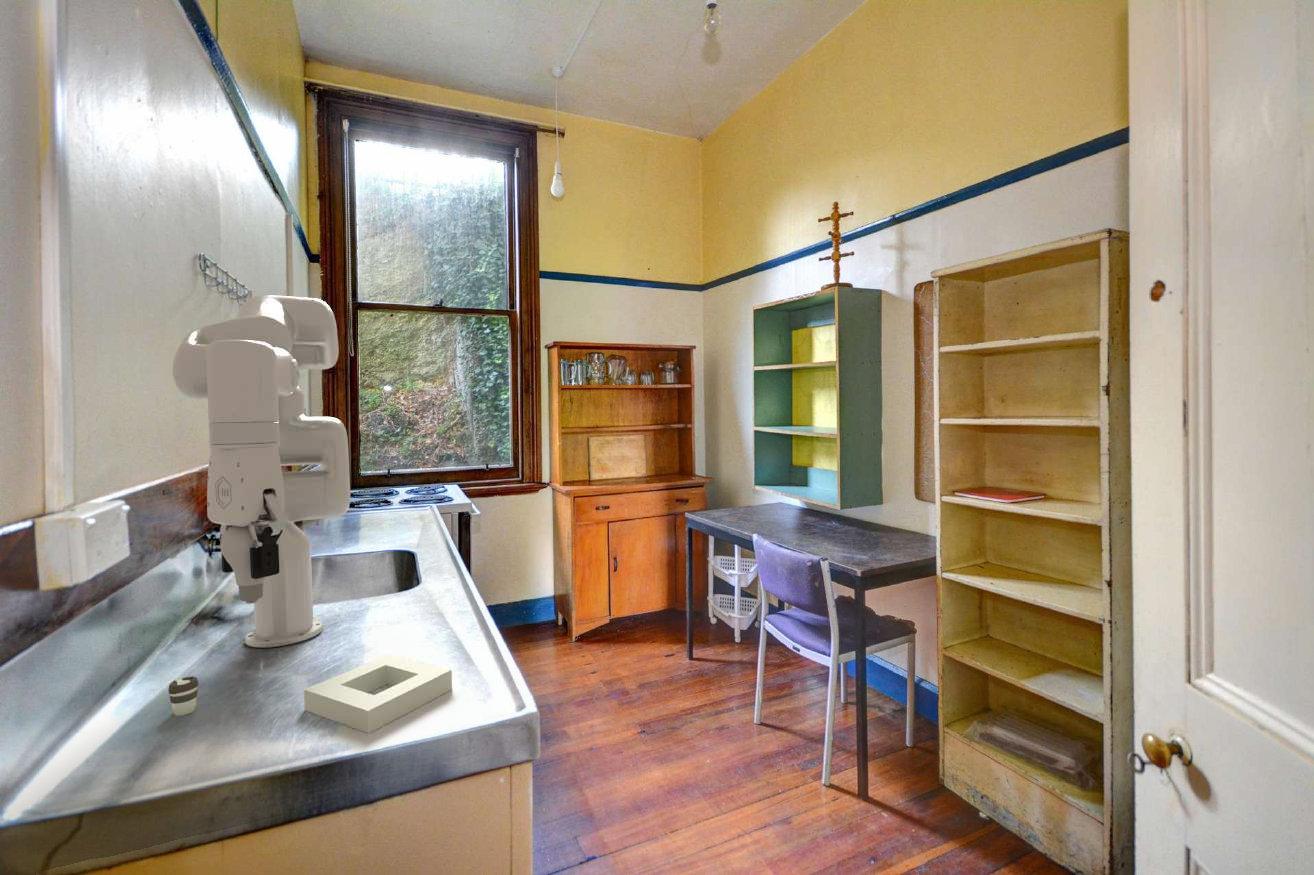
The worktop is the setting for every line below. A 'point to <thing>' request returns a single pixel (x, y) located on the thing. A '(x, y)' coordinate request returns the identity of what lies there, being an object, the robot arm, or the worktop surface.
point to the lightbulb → (242, 561)
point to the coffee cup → (183, 695)
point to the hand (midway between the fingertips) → (250, 571)
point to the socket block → (369, 712)
